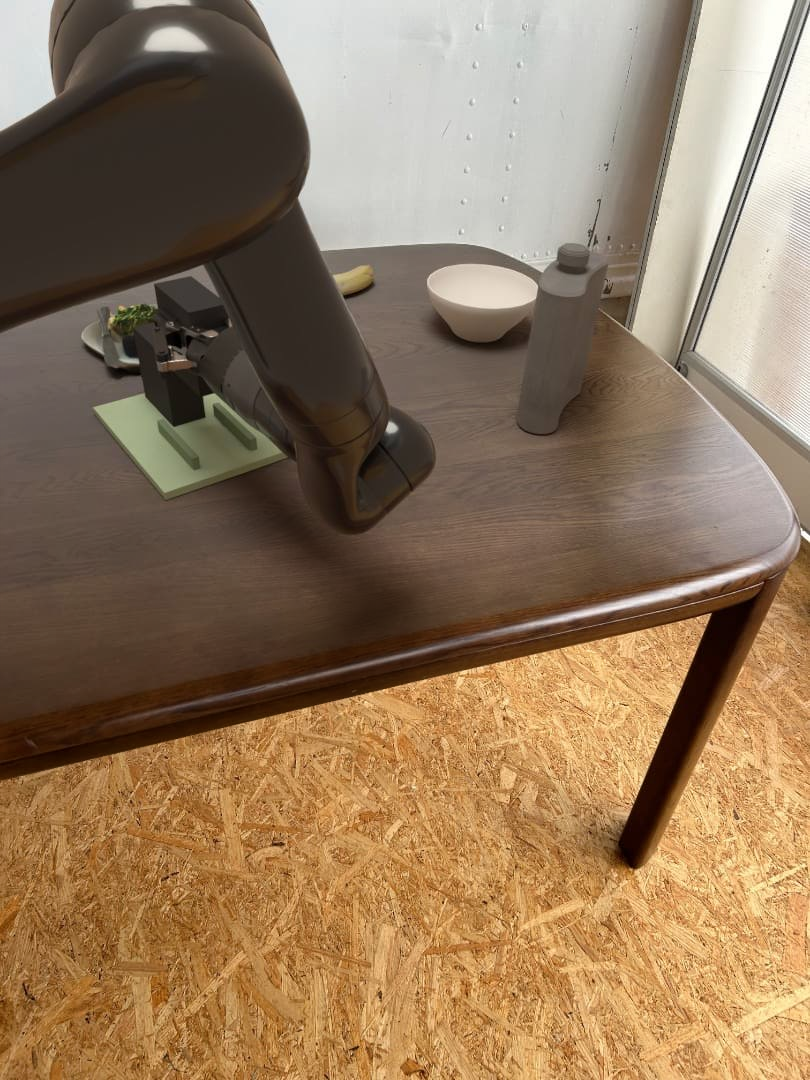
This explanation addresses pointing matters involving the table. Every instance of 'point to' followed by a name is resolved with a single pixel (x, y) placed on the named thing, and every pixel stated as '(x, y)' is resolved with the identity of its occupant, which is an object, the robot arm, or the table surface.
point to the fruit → (354, 279)
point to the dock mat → (182, 431)
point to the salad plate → (118, 334)
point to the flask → (560, 336)
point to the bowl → (481, 299)
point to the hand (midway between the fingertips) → (181, 312)
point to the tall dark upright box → (191, 316)
